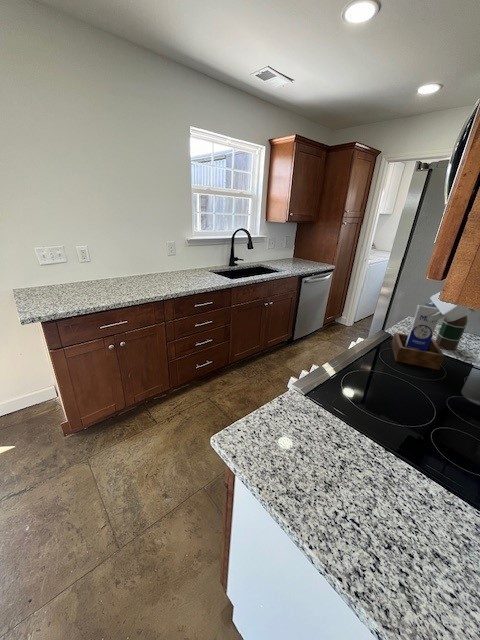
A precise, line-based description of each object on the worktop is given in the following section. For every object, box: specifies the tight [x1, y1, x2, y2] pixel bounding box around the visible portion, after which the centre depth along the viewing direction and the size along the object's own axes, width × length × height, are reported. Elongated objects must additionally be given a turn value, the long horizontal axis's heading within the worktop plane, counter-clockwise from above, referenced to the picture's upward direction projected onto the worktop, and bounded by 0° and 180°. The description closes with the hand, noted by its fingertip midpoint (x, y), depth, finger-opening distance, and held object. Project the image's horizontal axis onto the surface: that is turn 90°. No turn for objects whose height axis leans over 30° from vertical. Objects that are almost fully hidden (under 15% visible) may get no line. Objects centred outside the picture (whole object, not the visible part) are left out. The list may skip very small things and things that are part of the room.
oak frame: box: [390, 332, 445, 371], centre depth 105 cm, size 14×14×6 cm
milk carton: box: [405, 302, 439, 351], centre depth 102 cm, size 7×7×20 cm
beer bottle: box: [435, 315, 468, 351], centre depth 110 cm, size 8×8×24 cm
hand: (424, 315), depth 100 cm, fingers closed on milk carton, 7 cm apart
